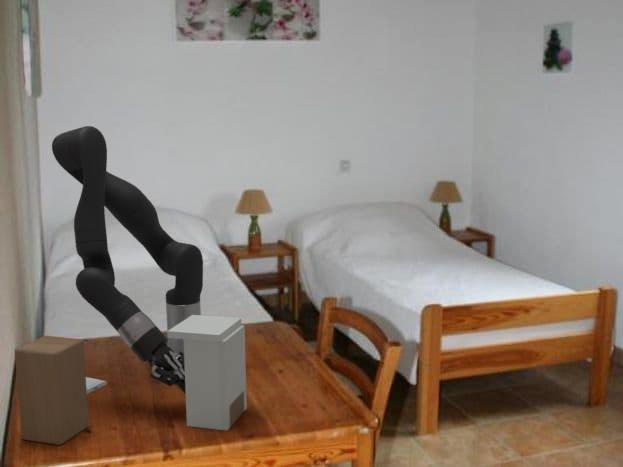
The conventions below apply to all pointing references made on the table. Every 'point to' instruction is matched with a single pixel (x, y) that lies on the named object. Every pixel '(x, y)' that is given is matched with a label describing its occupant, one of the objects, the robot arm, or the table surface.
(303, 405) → the table surface
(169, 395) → the table surface
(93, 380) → the hard drive
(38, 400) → the wooden block
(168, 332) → the grey open cabinet
